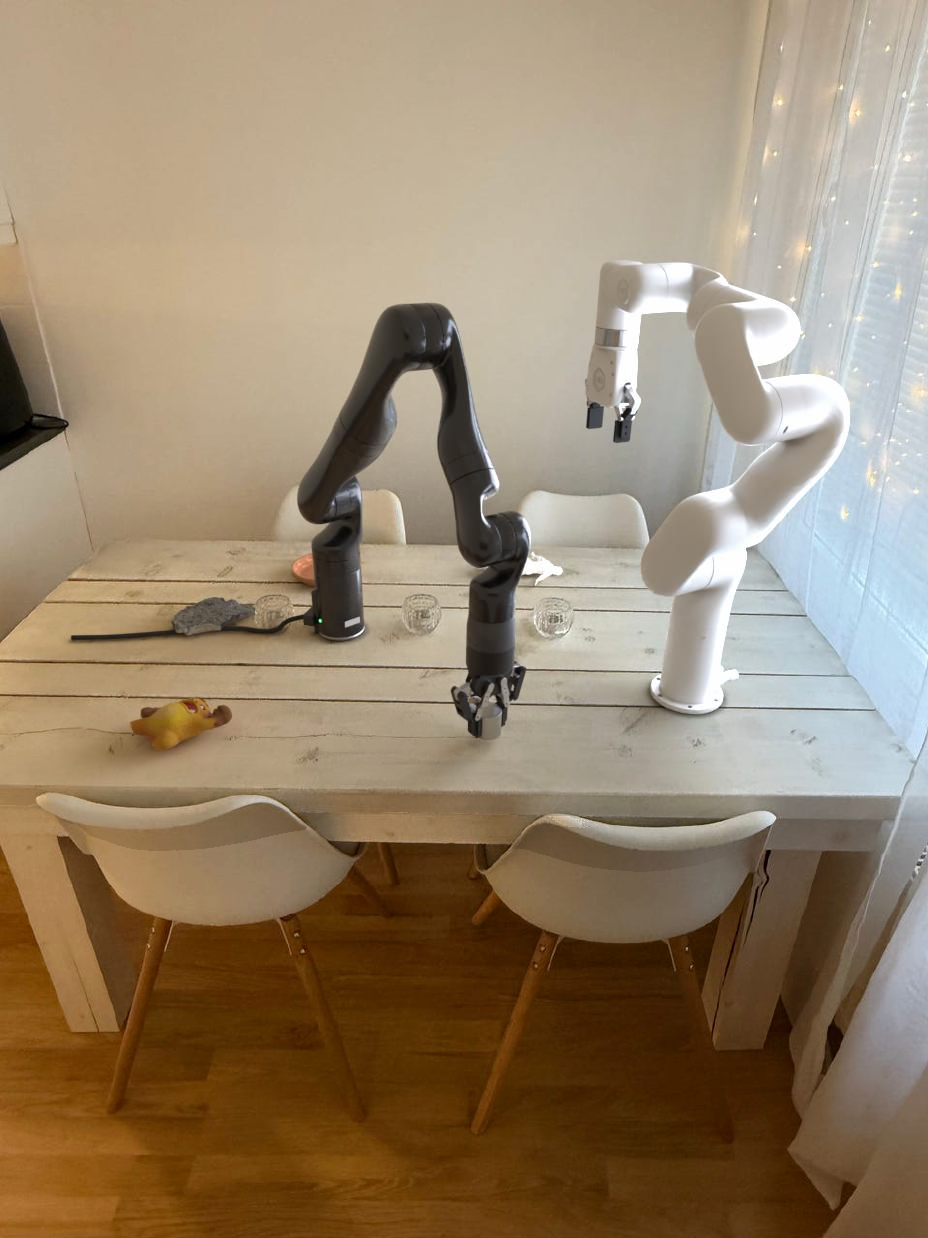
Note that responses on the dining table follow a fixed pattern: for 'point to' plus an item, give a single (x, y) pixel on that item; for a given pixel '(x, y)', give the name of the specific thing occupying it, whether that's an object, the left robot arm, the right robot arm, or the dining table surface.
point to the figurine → (540, 567)
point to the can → (491, 721)
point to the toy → (179, 721)
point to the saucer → (304, 570)
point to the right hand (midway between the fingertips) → (607, 434)
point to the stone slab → (210, 615)
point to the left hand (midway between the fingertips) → (487, 729)
